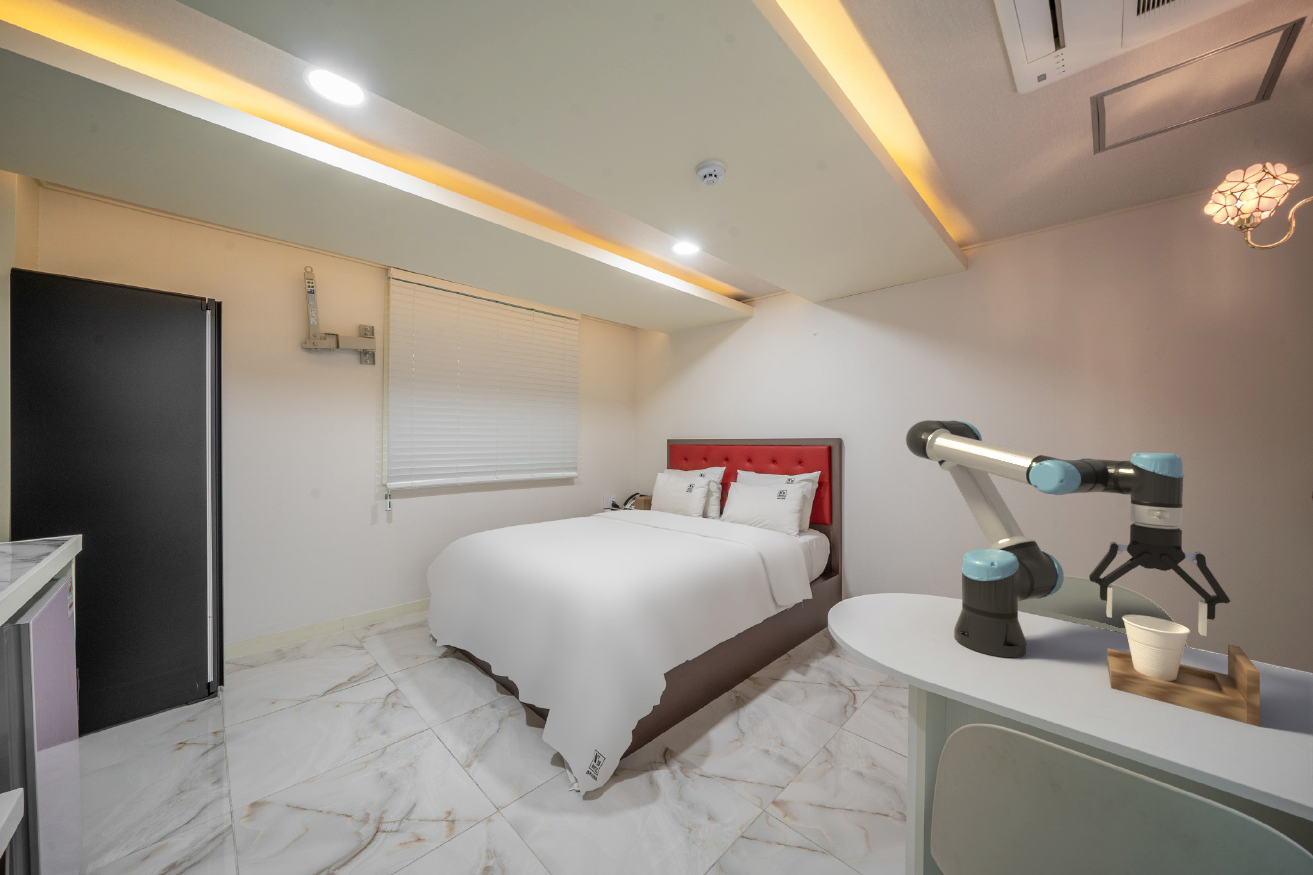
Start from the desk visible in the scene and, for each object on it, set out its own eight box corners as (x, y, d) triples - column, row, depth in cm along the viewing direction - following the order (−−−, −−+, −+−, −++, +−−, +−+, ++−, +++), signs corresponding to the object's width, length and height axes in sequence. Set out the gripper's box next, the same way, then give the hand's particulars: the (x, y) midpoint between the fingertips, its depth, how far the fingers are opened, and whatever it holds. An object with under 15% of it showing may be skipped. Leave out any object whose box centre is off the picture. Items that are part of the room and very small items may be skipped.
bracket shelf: (1111, 687, 98) (1111, 640, 98) (1107, 663, 108) (1107, 621, 108) (1259, 726, 85) (1259, 672, 85) (1239, 694, 95) (1239, 646, 95)
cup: (1205, 689, 93) (1205, 635, 93) (1146, 684, 95) (1146, 630, 95) (1162, 665, 102) (1162, 616, 102) (1109, 661, 104) (1109, 612, 104)
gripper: (1076, 519, 104) (1074, 613, 104) (1254, 537, 87) (1252, 648, 88) (1076, 515, 110) (1074, 604, 110) (1243, 531, 93) (1241, 635, 93)
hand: (1153, 624), depth 99 cm, fingers open, 13 cm apart
